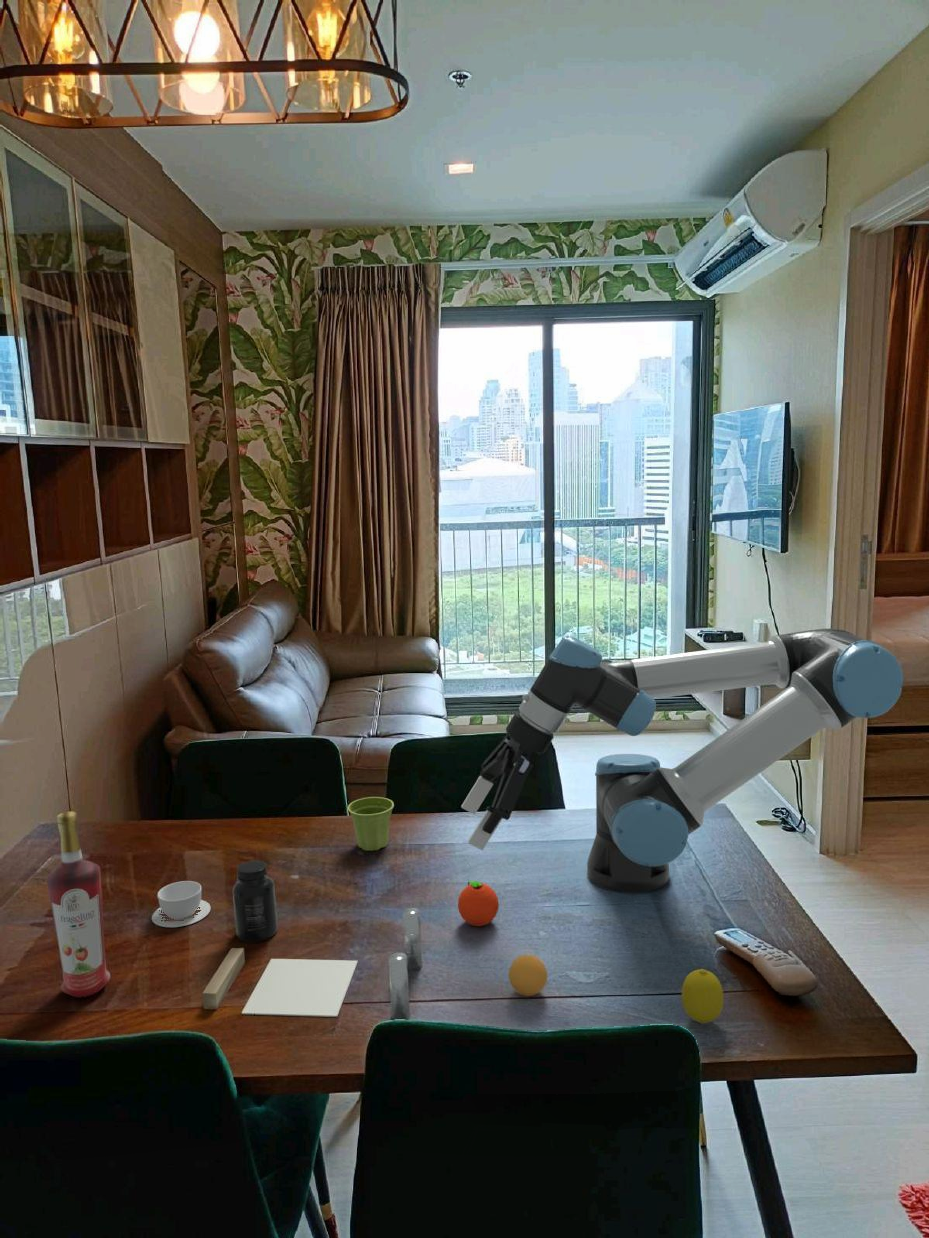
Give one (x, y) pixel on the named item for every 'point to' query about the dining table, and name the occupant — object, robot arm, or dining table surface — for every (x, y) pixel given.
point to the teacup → (180, 904)
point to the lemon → (702, 996)
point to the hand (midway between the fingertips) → (471, 827)
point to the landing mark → (301, 988)
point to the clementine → (478, 904)
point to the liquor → (77, 914)
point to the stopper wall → (223, 978)
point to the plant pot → (371, 821)
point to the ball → (528, 975)
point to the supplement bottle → (254, 903)
